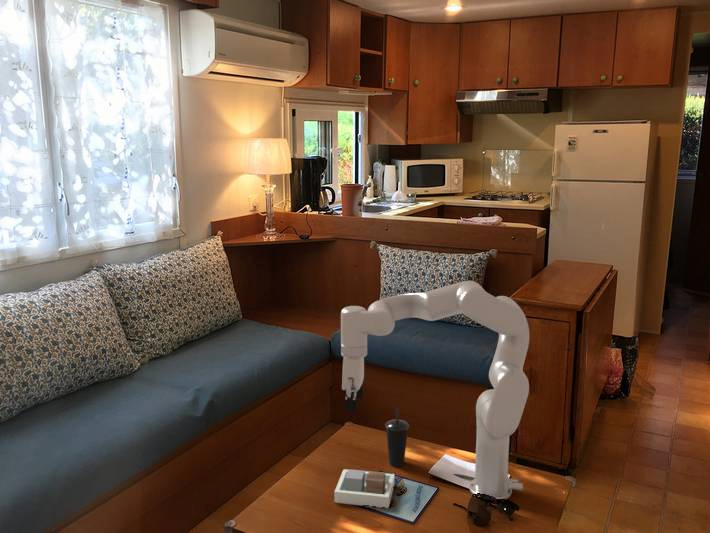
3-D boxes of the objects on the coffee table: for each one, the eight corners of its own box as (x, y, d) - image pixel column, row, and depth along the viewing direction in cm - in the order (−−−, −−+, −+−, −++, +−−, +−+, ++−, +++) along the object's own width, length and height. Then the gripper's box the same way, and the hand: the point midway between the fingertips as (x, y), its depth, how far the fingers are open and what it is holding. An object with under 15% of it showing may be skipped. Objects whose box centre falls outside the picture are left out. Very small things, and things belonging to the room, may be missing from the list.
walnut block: (369, 486, 201) (369, 471, 200) (385, 487, 200) (385, 472, 199) (366, 494, 197) (366, 479, 196) (382, 496, 196) (382, 481, 195)
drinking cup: (406, 470, 212) (407, 412, 208) (383, 467, 214) (383, 410, 210) (409, 458, 220) (410, 402, 215) (386, 456, 221) (387, 400, 217)
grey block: (348, 484, 203) (348, 469, 201) (364, 485, 202) (364, 470, 201) (345, 493, 198) (345, 477, 197) (361, 494, 197) (361, 479, 196)
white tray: (394, 484, 204) (394, 474, 203) (388, 508, 192) (388, 497, 191) (343, 479, 207) (343, 469, 206) (334, 502, 195) (334, 491, 194)
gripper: (347, 339, 199) (347, 392, 203) (334, 358, 183) (335, 416, 186) (372, 340, 198) (371, 394, 201) (361, 360, 181) (361, 418, 185)
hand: (354, 404), depth 194 cm, fingers open, 9 cm apart
